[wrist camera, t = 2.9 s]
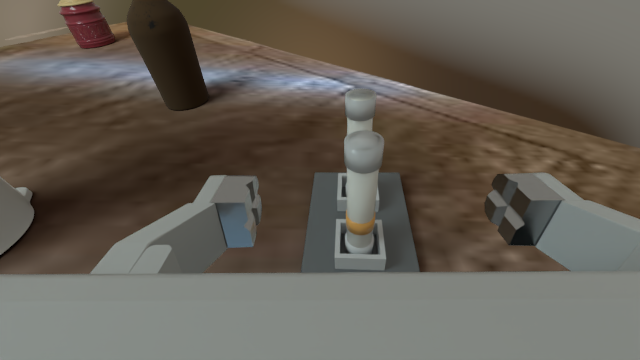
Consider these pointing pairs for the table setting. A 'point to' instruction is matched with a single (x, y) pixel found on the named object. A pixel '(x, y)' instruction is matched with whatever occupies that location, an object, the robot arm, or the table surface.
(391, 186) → the fuse board
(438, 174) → the table surface
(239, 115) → the table surface
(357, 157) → the cylinder
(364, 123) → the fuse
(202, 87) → the olive oil
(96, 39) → the canister
